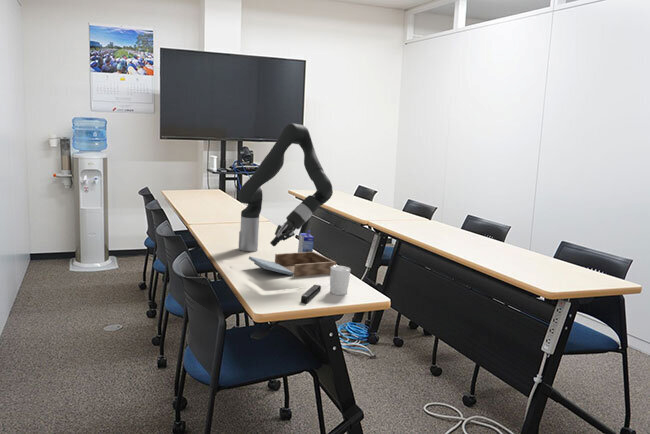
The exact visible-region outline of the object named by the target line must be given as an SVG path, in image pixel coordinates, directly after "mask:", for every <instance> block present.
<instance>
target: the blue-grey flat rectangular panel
mask: <svg viewBox="0 0 650 434" xmlns="http://www.w3.org/2000/svg"><path fill="white" fill-rule="evenodd" d="M248 260H249V261H252V262H253V264H254V265H255V266H257V267H259V268H260V269H263V270H268V271H273V272H277V273H279V274H284V275H285V274H286V275H288V276H293V275H294V273H293V272H292V271H290V270H288V269H286V268H285V267H283V266H281V265H279V264H277V263H275V261H274V262H273V261H270V260H265V259H262V258H257V257H254V256H248Z"/></svg>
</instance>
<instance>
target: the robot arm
mask: <svg viewBox="0 0 650 434" xmlns="http://www.w3.org/2000/svg"><path fill="white" fill-rule="evenodd" d="M311 137H312V136H311V135H310V132H309V129H308V128H307V127H306V125H304V124H301V123H300V124H299V123H293V122H292V123H291V122H290V123H288V124H286V125H285V126H284V128H283V130H282V131H281V132H280V134H279V135H278V138H277V139H276V141H275V143H274V145H273V146H272V147H271V149H270V150H269V152H267V154H266V156H265V157H264V158H263V160H262V161H261V162H260V164H259V165H258V167H257V169H256V170H255V171H254V172H253V174H252V175H251V176H249V178H248V180H246V182H245V183H244V184H243V185H242V186H240V188H239V191H238V194H237V197H238V200H239V202H240V203H242V204H246V205H247V206H246V207H245V208H243V209H242V210H241V211H240V228H239V229H240V231H239V232H238V233H239V234H238V251H243V252H256V251H258V246H259V245H258V244H259V232H260V231H259V229H260V214H261V212H262V206H263V190H262V188H261V187H262V186H263V185H265V184H266V183H268V182H269V181H270V180H272V179H273V178H275V177H276V176H277V175H278V173H279V172H280V171H281V169H282V168H283V166H284V160H285V153H286V151H287V150H288V148H290V146H291V145H292V144H293V145H298V146H299V147H300V148H301V150H302V151H303V164H304V169H305V171H306V173H307V175H308V177H309V179H310V181H312V182H313V185H314V187H315V190H316V191H315V192H314V193H313V194H312V195H308V196H306V197H305V198H304V199H303V200H302V201H301V202H300V203H299V204H298V205H297V206H296V207H295V208H294V209H292V211H291V212H290V213H289V214H288V215H287V216H286V221H285V222H284V223H283V224H278V225H277V227H276V229H275V232H274V235H275V237H274V238H273V239H272V240H271V241H270V242H269V243H270V244H271V246H273V247H276V246H277V244H279V242H280V241H283V242H285V241H286V240H288V239H289V238H291V237H294V236H295V233H294V232H295V231H296V230H300V229H301V228H302V226H304V225H305V224H306V223H307V221H308V220H310V218H311V217H312V215H313V214H314V213H315V212H316V211H317V210H318V209H319V207H321V206H323V205H324V204H325V203H327V202H328V201H329V200H330V199H331V198H332V196H333V185H332V182H331V180H330V179H329V177H328V175H327V174H326V172H325V171H324V169H323V166H322V164H321V163H320V160H319V158H318V156H317V154H316V151H315V148H314V144H313V141H312V138H311Z"/></svg>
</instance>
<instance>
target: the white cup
mask: <svg viewBox="0 0 650 434" xmlns="http://www.w3.org/2000/svg"><path fill="white" fill-rule="evenodd" d="M350 275H351V267H348V266H344V265H336V266H332V267H330V274H329V276H330V277H329V285H330V287H329V292H330V294H332V295H335V296H345V295H347V294H348V287H349V282H350Z"/></svg>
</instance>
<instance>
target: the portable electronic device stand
mask: <svg viewBox="0 0 650 434" xmlns="http://www.w3.org/2000/svg"><path fill="white" fill-rule="evenodd" d="M321 290H322V286H321V285H320V284H313V285H312V286H311V287H310V288H309V289H308V290H306V291H305V292H304V293H303V294H302V295H301V298H300V303H301V304H303V305H304V304H305V305H307V304H309V303H310V302H311V301H312V300H313V299H314V298H315V297H317V295H318V294H319V293H320V292H321Z"/></svg>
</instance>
